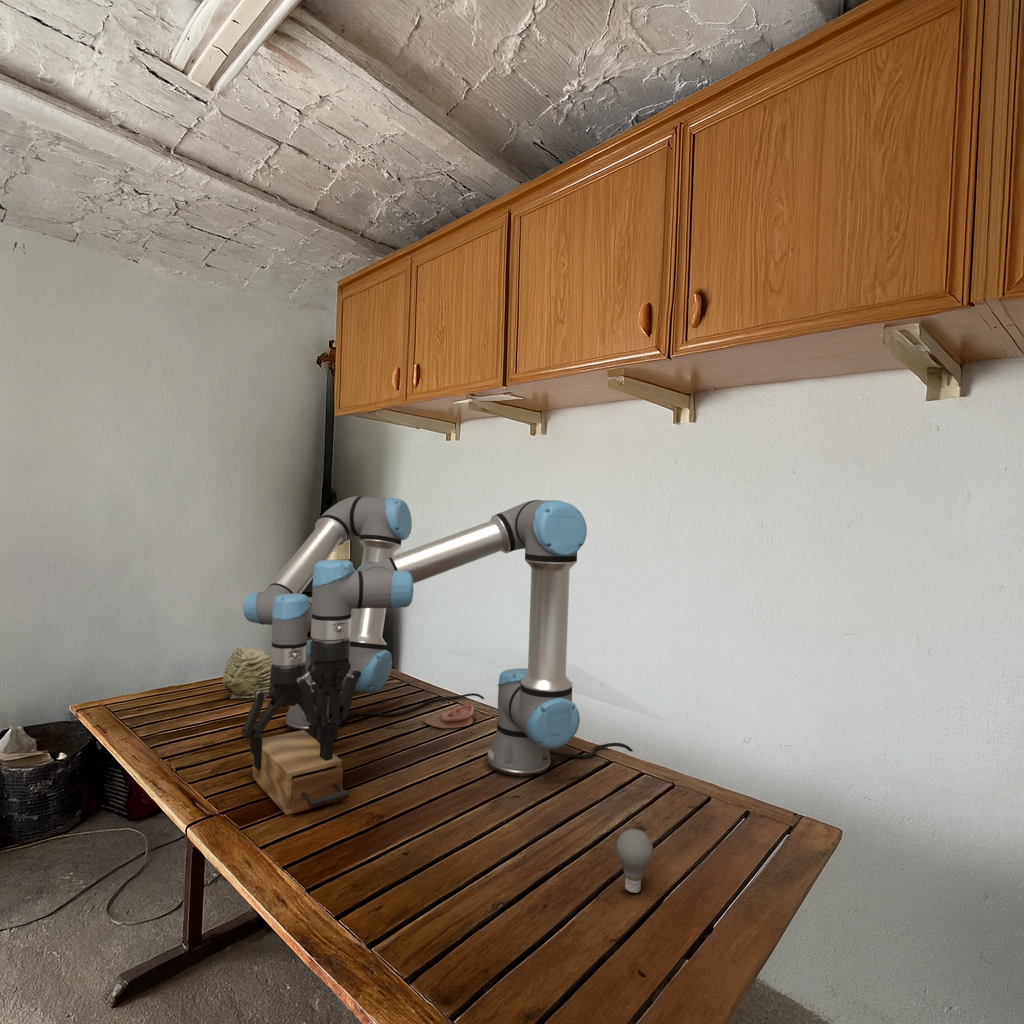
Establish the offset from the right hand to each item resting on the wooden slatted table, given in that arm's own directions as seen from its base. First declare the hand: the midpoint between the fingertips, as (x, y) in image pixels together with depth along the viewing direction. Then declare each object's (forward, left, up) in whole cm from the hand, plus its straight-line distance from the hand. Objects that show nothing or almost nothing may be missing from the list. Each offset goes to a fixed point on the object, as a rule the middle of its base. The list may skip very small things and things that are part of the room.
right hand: (326, 757), depth 125 cm
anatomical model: (-37, -46, -12) cm, 60 cm away
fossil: (+16, -83, -12) cm, 85 cm away
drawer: (+3, -9, -11) cm, 15 cm away
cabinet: (+5, -14, -12) cm, 19 cm away
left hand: (+7, -20, -8) cm, 23 cm away
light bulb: (-47, +38, -12) cm, 62 cm away
